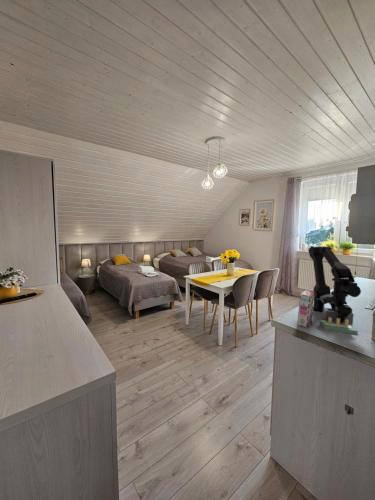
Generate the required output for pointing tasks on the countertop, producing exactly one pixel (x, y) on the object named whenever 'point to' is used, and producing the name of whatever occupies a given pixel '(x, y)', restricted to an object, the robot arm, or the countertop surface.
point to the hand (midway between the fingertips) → (337, 319)
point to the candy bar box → (305, 308)
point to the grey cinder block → (335, 315)
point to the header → (338, 326)
